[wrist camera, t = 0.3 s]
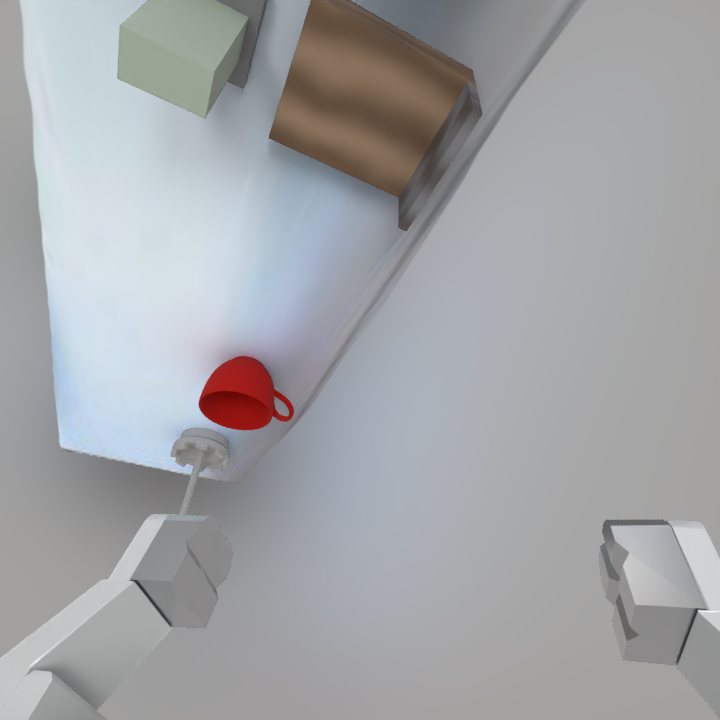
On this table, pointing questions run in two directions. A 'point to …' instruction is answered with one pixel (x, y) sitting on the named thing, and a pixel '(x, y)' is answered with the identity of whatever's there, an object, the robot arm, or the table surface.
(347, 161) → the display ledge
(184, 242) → the table surface
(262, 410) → the ceramic cup
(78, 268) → the table surface
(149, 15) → the green pillar on base
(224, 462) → the flag stand
